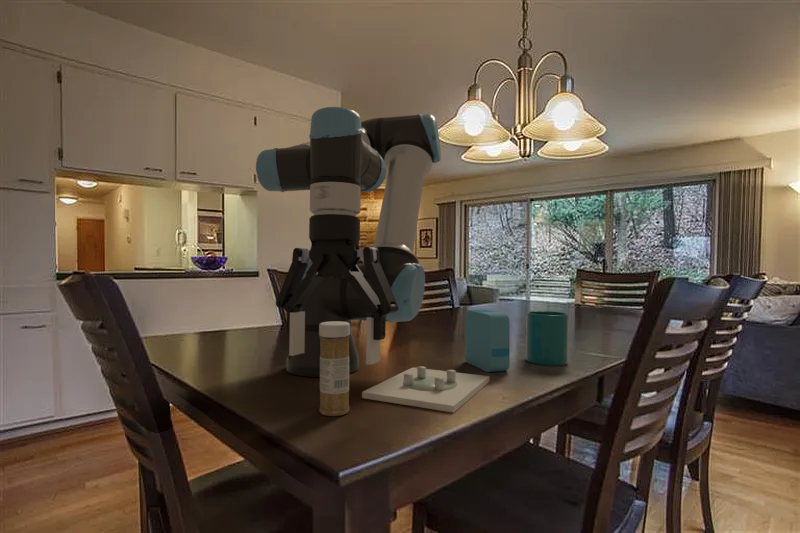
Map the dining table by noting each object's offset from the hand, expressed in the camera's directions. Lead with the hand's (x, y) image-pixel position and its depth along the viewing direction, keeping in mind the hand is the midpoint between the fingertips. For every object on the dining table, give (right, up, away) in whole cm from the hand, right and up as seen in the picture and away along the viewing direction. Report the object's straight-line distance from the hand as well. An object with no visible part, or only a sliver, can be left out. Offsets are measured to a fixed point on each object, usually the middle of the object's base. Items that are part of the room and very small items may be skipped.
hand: (333, 358), depth 67 cm
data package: (+29, -8, +31) cm, 43 cm away
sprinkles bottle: (0, -8, 0) cm, 8 cm away
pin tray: (+15, -8, +13) cm, 22 cm away
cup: (+43, -8, +37) cm, 57 cm away
